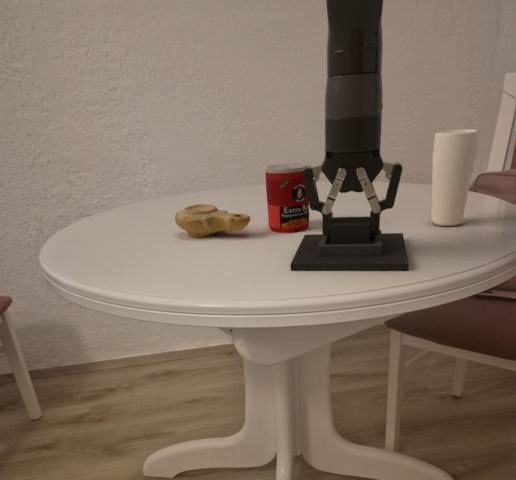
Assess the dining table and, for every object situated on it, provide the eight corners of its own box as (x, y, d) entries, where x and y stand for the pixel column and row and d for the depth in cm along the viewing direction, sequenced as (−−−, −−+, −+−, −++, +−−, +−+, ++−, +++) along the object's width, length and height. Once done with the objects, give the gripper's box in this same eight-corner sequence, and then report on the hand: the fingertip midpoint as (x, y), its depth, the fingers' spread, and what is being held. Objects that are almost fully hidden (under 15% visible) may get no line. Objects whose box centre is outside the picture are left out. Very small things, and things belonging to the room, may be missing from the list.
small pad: (369, 236, 74) (370, 216, 73) (369, 246, 69) (370, 225, 68) (333, 236, 75) (333, 217, 74) (330, 246, 71) (330, 225, 69)
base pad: (402, 239, 78) (403, 223, 77) (408, 270, 65) (409, 252, 63) (304, 240, 82) (304, 225, 81) (290, 270, 68) (290, 253, 67)
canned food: (283, 235, 86) (280, 170, 81) (260, 227, 92) (256, 167, 87) (318, 227, 89) (317, 164, 84) (294, 220, 95) (292, 162, 90)
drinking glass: (441, 217, 90) (450, 129, 83) (475, 222, 85) (487, 129, 78) (418, 224, 86) (425, 133, 79) (451, 230, 81) (462, 133, 74)
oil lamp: (251, 238, 85) (249, 210, 83) (171, 244, 86) (167, 216, 83) (251, 225, 95) (249, 199, 92) (179, 230, 95) (175, 204, 93)
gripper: (296, 118, 63) (299, 245, 70) (410, 110, 60) (401, 244, 67) (303, 116, 69) (306, 232, 77) (407, 109, 66) (399, 231, 74)
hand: (350, 237), depth 72 cm, fingers closed on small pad, 5 cm apart
